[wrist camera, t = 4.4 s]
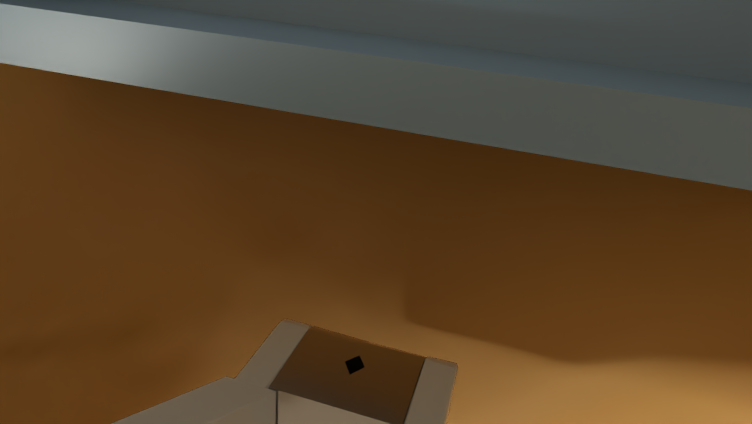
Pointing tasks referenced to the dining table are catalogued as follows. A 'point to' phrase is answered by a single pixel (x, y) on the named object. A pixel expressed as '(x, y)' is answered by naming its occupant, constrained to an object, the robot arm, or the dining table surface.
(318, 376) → the robot arm
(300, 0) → the tray
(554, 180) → the dining table surface
